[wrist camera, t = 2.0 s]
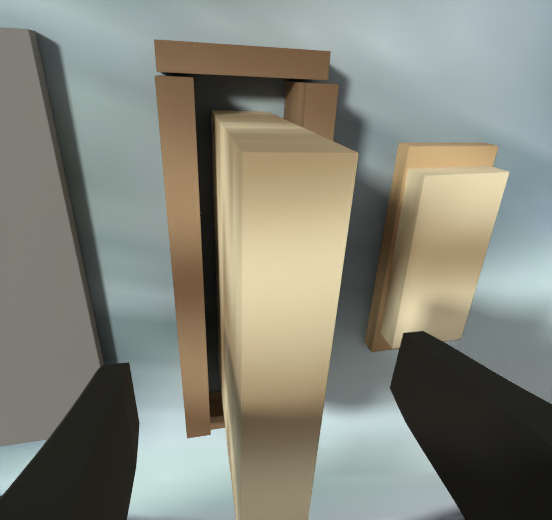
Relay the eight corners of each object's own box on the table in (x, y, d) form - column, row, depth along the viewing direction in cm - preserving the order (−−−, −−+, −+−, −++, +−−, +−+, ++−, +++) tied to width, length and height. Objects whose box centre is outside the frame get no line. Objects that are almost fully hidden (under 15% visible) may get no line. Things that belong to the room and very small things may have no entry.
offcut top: (445, 324, 19) (461, 339, 18) (380, 332, 18) (392, 348, 17) (487, 165, 15) (509, 172, 14) (407, 168, 15) (425, 175, 14)
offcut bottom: (425, 326, 21) (441, 343, 19) (359, 333, 20) (371, 351, 19) (473, 140, 16) (498, 145, 15) (390, 140, 15) (409, 146, 14)
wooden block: (259, 368, 19) (304, 545, 12) (219, 373, 18) (240, 559, 11) (267, 111, 13) (358, 153, 6) (210, 109, 13) (242, 152, 6)
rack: (288, 393, 20) (301, 433, 17) (187, 407, 19) (188, 452, 16) (315, 53, 13) (342, 49, 11) (157, 43, 12) (151, 36, 9)
